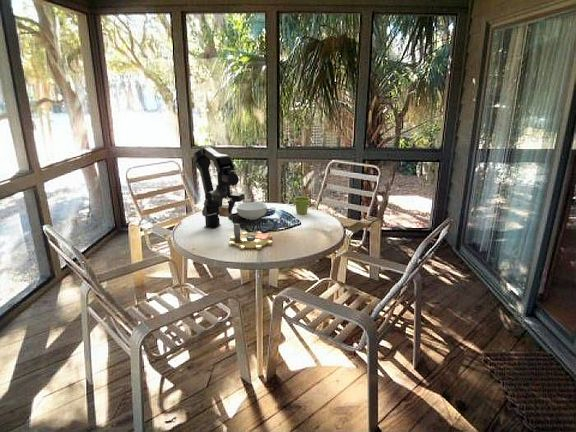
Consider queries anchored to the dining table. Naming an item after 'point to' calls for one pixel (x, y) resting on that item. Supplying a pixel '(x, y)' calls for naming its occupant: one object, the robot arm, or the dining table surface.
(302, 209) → the plant pot
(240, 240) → the sprocket
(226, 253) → the dining table surface
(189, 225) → the dining table surface
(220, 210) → the block
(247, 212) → the cereal bowl
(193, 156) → the robot arm
